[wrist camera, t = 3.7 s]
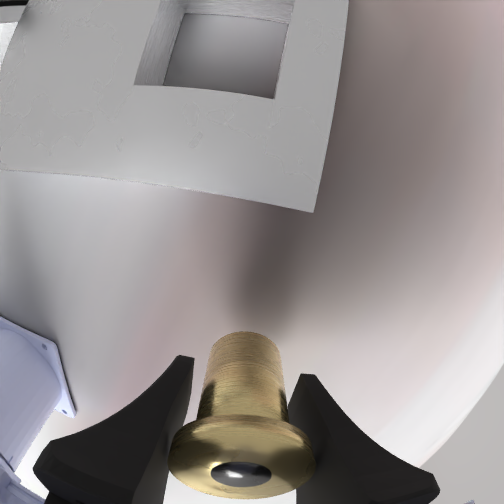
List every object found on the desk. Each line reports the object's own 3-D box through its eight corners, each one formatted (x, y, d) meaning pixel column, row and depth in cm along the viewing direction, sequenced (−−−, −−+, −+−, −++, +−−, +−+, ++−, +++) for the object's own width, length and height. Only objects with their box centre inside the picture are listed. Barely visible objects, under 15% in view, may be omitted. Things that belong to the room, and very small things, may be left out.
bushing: (193, 385, 13) (168, 489, 7) (201, 310, 11) (165, 424, 6) (280, 398, 13) (291, 501, 7) (305, 327, 12) (339, 441, 6)
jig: (17, 165, 11) (-18, 169, 9) (68, -11, 8) (45, -29, 5) (299, 202, 12) (313, 213, 9) (336, -13, 9) (352, -43, 6)
